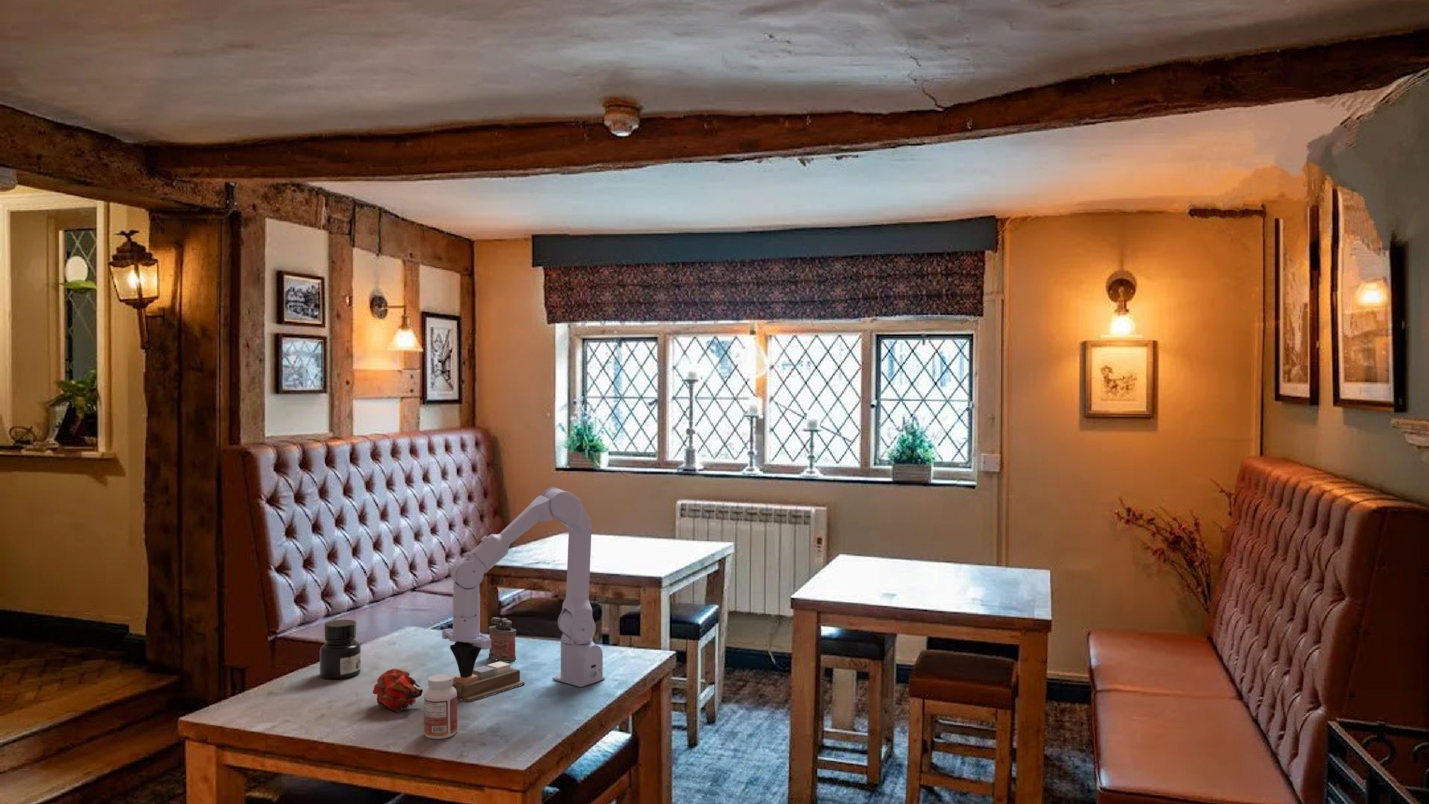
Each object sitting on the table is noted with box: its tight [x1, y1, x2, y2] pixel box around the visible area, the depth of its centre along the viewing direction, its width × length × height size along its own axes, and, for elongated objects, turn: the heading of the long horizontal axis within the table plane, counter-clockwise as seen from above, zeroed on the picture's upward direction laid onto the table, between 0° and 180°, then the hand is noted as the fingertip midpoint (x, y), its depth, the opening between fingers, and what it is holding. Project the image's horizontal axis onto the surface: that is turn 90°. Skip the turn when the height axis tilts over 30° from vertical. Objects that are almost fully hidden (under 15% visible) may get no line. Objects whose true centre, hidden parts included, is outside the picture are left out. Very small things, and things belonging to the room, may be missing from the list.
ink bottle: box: [319, 619, 362, 680], centre depth 228 cm, size 10×9×12 cm
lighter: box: [488, 616, 517, 662], centre depth 241 cm, size 8×3×10 cm, turn 58°
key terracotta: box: [453, 674, 478, 685], centre depth 214 cm, size 4×4×2 cm
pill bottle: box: [423, 673, 458, 740], centre depth 190 cm, size 6×6×11 cm
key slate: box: [472, 665, 495, 681], centre depth 218 cm, size 4×4×2 cm
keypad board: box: [452, 667, 525, 703], centre depth 218 cm, size 10×15×3 cm, turn 142°
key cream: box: [486, 661, 511, 676], centre depth 221 cm, size 4×4×2 cm
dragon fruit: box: [372, 668, 424, 712], centre depth 205 cm, size 8×8×12 cm
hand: (466, 676), depth 214 cm, fingers closed, pressing on key terracotta
